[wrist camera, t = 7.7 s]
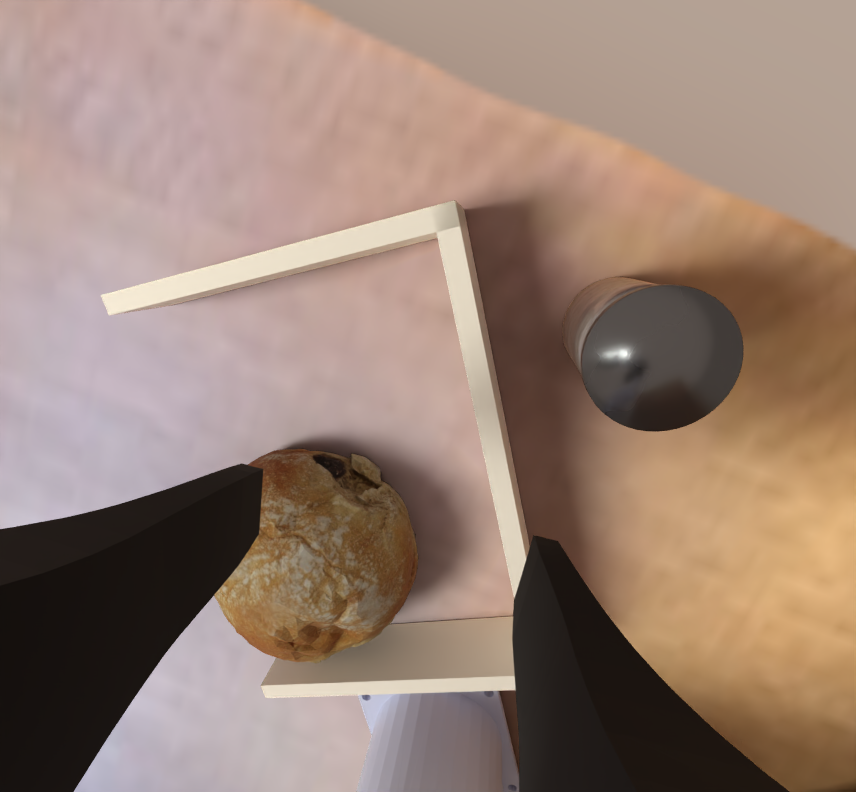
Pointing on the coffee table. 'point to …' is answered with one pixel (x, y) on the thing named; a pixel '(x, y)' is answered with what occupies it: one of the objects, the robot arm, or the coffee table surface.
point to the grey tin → (652, 351)
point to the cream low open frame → (485, 637)
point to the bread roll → (321, 557)
